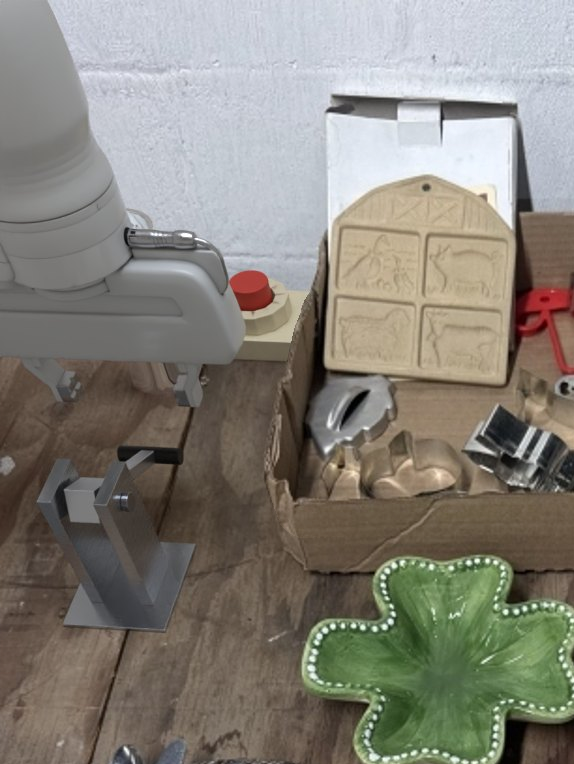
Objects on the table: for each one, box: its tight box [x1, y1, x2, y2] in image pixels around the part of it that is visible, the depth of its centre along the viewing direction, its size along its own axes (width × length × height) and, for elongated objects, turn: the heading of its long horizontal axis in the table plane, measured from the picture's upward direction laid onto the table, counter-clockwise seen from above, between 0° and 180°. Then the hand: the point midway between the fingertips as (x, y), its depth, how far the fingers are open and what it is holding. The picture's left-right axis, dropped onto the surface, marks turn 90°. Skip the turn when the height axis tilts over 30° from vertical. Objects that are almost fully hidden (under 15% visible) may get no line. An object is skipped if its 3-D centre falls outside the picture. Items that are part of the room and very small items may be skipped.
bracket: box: [36, 458, 197, 633], centre depth 80 cm, size 9×8×12 cm
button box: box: [233, 277, 310, 362], centre depth 102 cm, size 10×8×4 cm
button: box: [229, 269, 272, 311], centre depth 100 cm, size 4×4×2 cm
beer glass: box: [126, 207, 200, 396], centre depth 93 cm, size 7×7×15 cm
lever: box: [64, 444, 185, 523], centre depth 81 cm, size 13×5×2 cm, turn 175°
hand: (131, 399), depth 81 cm, fingers open, 8 cm apart
